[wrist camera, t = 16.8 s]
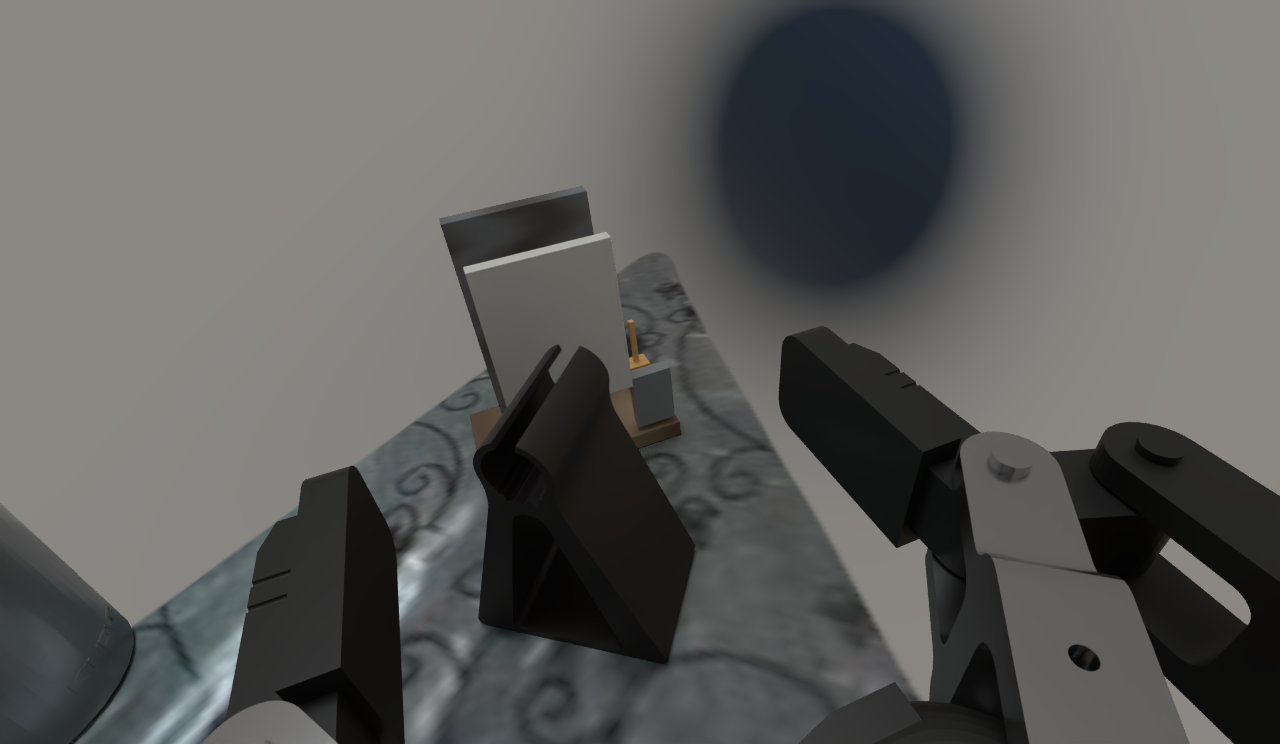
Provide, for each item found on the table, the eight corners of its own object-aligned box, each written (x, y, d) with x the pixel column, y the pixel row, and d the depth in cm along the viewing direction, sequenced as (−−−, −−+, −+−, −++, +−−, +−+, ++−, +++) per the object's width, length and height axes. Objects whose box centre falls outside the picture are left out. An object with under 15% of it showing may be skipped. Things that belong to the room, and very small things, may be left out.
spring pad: (525, 464, 34) (465, 273, 27) (522, 455, 35) (462, 267, 28) (674, 415, 36) (655, 226, 29) (669, 408, 37) (649, 220, 30)
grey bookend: (488, 498, 34) (404, 279, 26) (473, 426, 40) (401, 227, 31) (680, 434, 37) (659, 216, 29) (641, 374, 42) (614, 178, 34)
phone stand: (480, 623, 28) (387, 431, 21) (533, 523, 32) (472, 337, 25) (666, 666, 25) (632, 462, 18) (696, 550, 30) (678, 352, 23)
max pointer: (632, 391, 38) (623, 328, 36) (626, 381, 39) (616, 319, 36) (652, 385, 39) (644, 322, 36) (646, 375, 40) (638, 313, 37)
